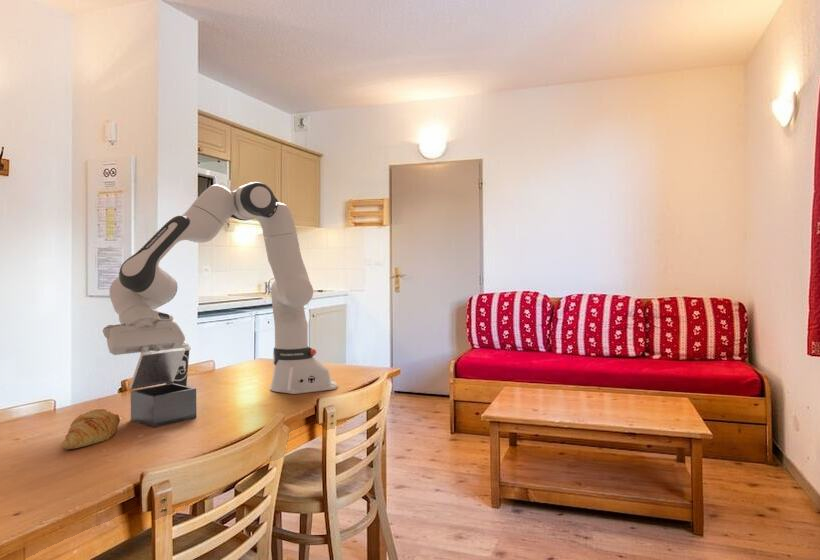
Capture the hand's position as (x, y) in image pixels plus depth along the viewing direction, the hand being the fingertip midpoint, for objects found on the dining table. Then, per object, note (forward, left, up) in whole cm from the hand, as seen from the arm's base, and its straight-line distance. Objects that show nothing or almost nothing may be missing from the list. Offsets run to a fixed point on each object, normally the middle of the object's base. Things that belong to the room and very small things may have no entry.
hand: (156, 360), depth 146 cm
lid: (-1, 0, -2) cm, 2 cm away
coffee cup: (-1, -41, -16) cm, 44 cm away
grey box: (-2, +2, -16) cm, 16 cm away
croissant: (+12, +15, -16) cm, 25 cm away
